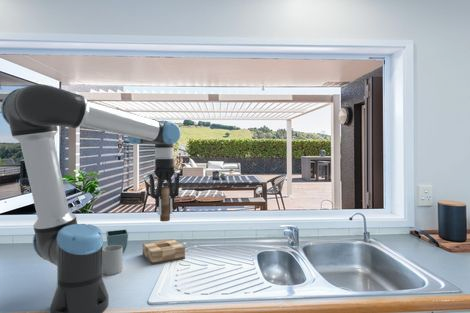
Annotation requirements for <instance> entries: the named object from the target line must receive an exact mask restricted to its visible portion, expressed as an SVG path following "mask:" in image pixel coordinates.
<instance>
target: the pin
mask: <svg viewBox="0 0 470 313" xmlns="http://www.w3.org/2000/svg"><path fill="white" fill-rule="evenodd" d="M159 199H161V215H159V221H160V222H170V221H171V214H170V187H168V186H162V187H161V192H160V197H159Z"/></svg>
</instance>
